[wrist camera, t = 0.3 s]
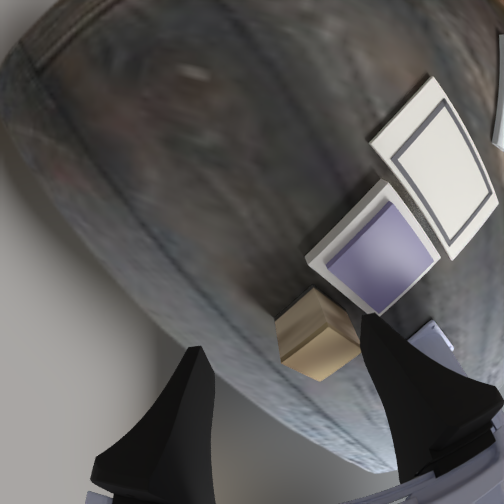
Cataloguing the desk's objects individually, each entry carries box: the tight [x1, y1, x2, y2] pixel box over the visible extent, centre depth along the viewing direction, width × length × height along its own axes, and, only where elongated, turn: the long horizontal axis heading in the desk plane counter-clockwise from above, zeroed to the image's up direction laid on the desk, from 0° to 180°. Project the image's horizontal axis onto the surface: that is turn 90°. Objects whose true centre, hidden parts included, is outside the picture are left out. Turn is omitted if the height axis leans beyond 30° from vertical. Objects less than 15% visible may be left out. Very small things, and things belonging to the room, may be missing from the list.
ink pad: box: [305, 179, 441, 317], centre depth 19 cm, size 9×8×2 cm
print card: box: [369, 77, 499, 260], centre depth 17 cm, size 14×8×1 cm, turn 49°
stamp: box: [274, 284, 361, 381], centre depth 21 cm, size 4×4×5 cm
